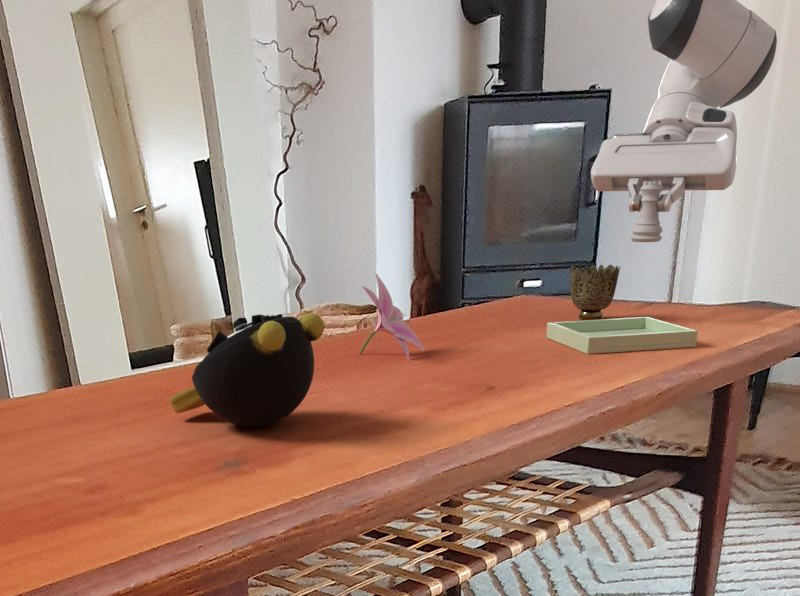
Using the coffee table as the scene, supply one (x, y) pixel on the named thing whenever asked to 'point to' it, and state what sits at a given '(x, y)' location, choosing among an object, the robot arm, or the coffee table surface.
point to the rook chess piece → (648, 214)
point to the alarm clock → (255, 370)
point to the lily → (391, 319)
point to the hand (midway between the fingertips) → (648, 209)
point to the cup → (593, 289)
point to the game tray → (621, 335)
